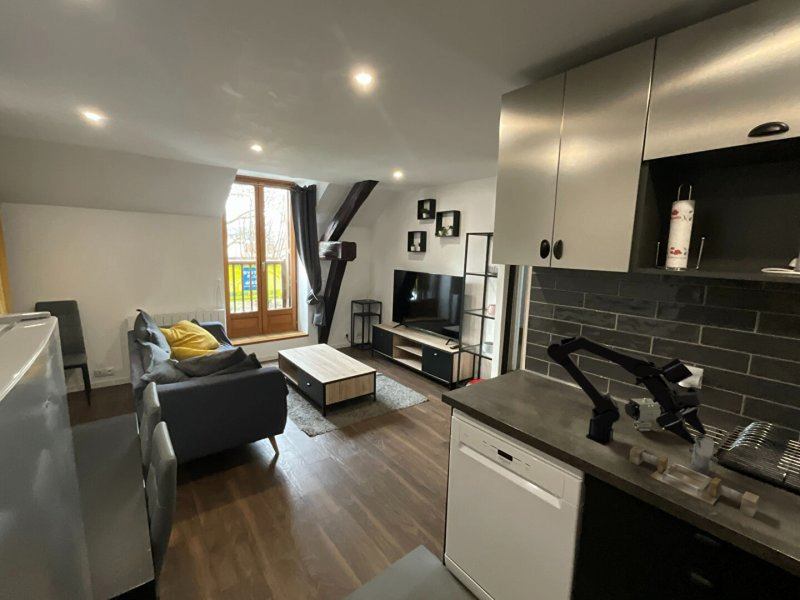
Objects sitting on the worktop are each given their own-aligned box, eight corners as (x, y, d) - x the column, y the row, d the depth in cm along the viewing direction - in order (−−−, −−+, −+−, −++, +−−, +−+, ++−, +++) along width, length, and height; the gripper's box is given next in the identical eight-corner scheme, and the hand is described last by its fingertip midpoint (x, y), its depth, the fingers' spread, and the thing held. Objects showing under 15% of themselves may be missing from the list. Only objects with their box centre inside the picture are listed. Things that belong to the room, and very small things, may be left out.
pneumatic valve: (622, 426, 132) (625, 396, 130) (652, 425, 133) (655, 395, 131) (632, 434, 127) (636, 402, 125) (663, 433, 128) (668, 401, 126)
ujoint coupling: (685, 467, 108) (689, 436, 107) (690, 462, 111) (694, 432, 109) (713, 479, 103) (717, 446, 101) (717, 473, 105) (722, 442, 104)
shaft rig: (624, 464, 109) (626, 451, 109) (639, 453, 115) (640, 441, 114) (749, 522, 87) (752, 506, 86) (759, 505, 92) (762, 490, 91)
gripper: (673, 386, 103) (717, 439, 96) (695, 373, 113) (737, 420, 106) (639, 402, 110) (678, 452, 103) (663, 389, 121) (700, 433, 114)
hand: (699, 438), depth 106 cm, fingers open, 9 cm apart
